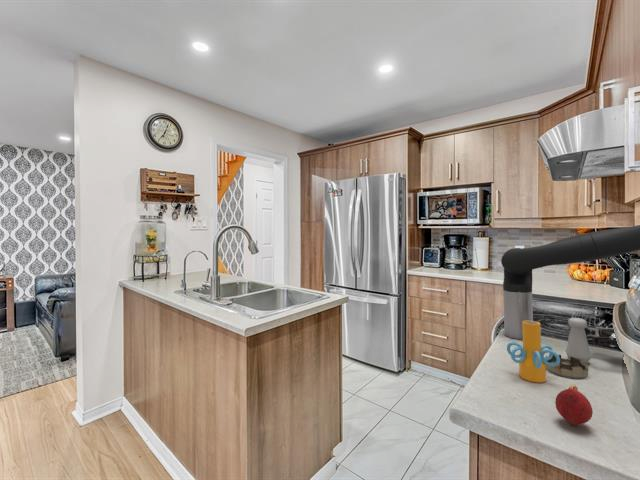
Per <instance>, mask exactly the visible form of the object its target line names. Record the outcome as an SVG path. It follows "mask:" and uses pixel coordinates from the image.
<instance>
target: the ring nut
mask: <svg viewBox="0 0 640 480" xmlns="http://www.w3.org/2000/svg"><path fill="white" fill-rule="evenodd" d="M558 355H559V357H560V363H559V365H557V366H554V367H552V366H548V365H546V371H548V372H549V373H551V374H553V375H556V376H559V377H562V378H566V379H573V380H574V379H575V380H583V379H587V378H589V365H588V364H589V363H585V365H584V364H582V363H581V359H578V358H575V357H570V360H569V358H568V359H567V358H562V355H561V354H558ZM548 356H549V355H545V357H544V358H546V357H548ZM547 362H549V363H555V362H556V357H555V355H553V356H552V358H551V359H550V360H548V361H547Z"/></svg>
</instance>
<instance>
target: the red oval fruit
mask: <svg viewBox="0 0 640 480" xmlns="http://www.w3.org/2000/svg"><path fill="white" fill-rule="evenodd" d="M554 402H555V408H556V410H557V412H558V414H559V415H560V417H562V418H563V419H564V420H565V421H566V422H567V423H569V424H571V425H572V426H575V427H576V426H579V425H582V424H585V423H587V422H589V421H590V420H591V419H592V417H593V408H592V405H591V402H590V401H589V399H588V398H587V396H586V395H585V394H583V393H582V392H581V391H579V388H578V386H576V385H575V384H573V385H572V384H571V385H570V386H569V387H568V388H566V389H564V390H561V391H560V392H558V394H557V395H556V398H555V401H554Z"/></svg>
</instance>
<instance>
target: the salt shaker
mask: <svg viewBox="0 0 640 480" xmlns="http://www.w3.org/2000/svg"><path fill="white" fill-rule="evenodd" d="M567 323H568V325H569V327H570V330H569V335H568V339H567V345H566V349H565V354H566V356H567V358H568V359H569V360H570V357H575V358H578V359H581V363H582V364H584V365H585V363H587V364H589V361H590V360H591V359H592V354H591V350H590V346H589V342H588V336H586V333H585V329H584V328H586V327H587V326H588V323H587V320H586V319H583V318H580V317H570V318H568V322H567Z"/></svg>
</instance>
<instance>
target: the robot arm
mask: <svg viewBox="0 0 640 480" xmlns="http://www.w3.org/2000/svg"><path fill="white" fill-rule="evenodd" d="M635 251H640V224H639V225H634V226H627V227H619V228H617V227H616V228H610V229H603V230H602V229H601V230H597V231H591V232H587V233H586V232H585V233H582V234H576V235H573V236H568V237H565V238H562V239H559V240H556V241H553V242H550V243H547V244H543V245H537V246H530V247H524V248H523V247H521V248H520V247H515V248H514V247H513V248H511V249H508V250H507V251H505V252H504V253H503V254H502V256H501V260H500V262H501V265H502V268H503V281H502V287H503V289H502V290H503V327H504V328H503V330H504V331H503V332H504V335H505V336H506V337H507V338H511V339H515V340H516V339H517V340H523V328H522V321H526V320H528V321H534V317H533V315H534V311H533V310H534V309H533V308H534V305H533V270H536V269H539V268H544V267H548V266H549V267H550V266H559V265H571V264H578V263H586V262H593V261H599V260H604V259H608V258H614V257H618V256H620V255H625V254H628V253H633V252H635ZM584 329H585V333H586V337H592V338H591V339H592V340H591V341H592V344H593V345H595V346H609V347H613V348H614V347H616V348H617V349H618V350H621V349H620V348H619V346H618V344H617V341H616V337H615V332H614V329H615V328H613V327H606V326H605V325H587V327H586V328H584Z"/></svg>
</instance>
